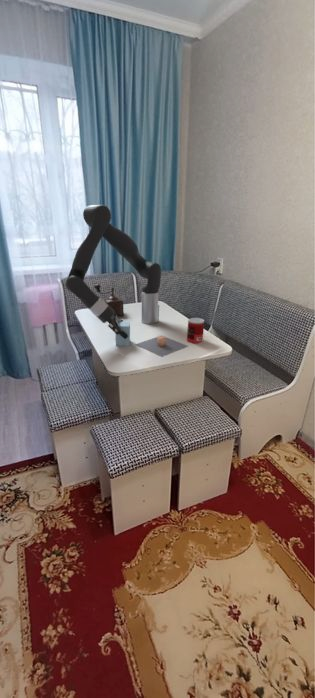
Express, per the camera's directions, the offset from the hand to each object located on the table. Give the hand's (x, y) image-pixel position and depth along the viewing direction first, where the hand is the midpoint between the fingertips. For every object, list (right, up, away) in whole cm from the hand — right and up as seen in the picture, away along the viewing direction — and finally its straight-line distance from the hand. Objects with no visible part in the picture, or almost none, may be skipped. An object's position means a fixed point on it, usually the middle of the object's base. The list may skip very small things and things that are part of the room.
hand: (127, 334), depth 150 cm
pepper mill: (-15, +14, +43) cm, 47 cm away
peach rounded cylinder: (+16, -5, 0) cm, 17 cm away
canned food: (+32, -3, +8) cm, 34 cm away
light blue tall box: (-2, -4, +2) cm, 5 cm away
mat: (+16, -6, +1) cm, 17 cm away
